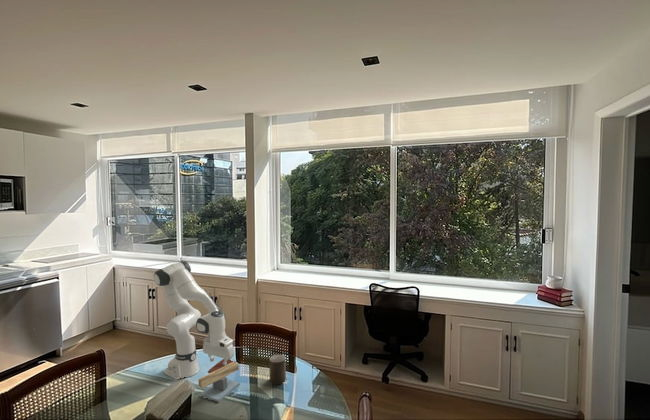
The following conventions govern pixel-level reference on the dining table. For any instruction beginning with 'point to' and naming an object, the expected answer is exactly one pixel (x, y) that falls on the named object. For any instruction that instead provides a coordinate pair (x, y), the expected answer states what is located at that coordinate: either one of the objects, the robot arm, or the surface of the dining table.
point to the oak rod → (218, 374)
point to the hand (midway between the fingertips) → (218, 362)
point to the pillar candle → (277, 369)
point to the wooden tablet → (219, 365)
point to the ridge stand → (220, 389)
